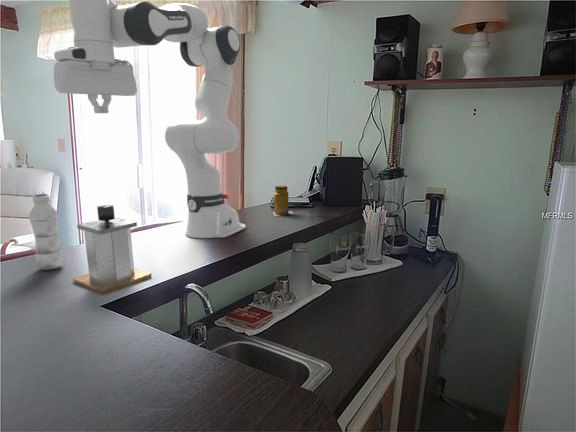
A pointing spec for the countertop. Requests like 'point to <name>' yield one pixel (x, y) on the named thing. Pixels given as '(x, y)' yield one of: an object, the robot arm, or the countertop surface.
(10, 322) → the countertop surface
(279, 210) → the condiment
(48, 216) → the plastic bottle
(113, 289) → the white box on plank
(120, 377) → the countertop surface
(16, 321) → the countertop surface
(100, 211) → the plunger
